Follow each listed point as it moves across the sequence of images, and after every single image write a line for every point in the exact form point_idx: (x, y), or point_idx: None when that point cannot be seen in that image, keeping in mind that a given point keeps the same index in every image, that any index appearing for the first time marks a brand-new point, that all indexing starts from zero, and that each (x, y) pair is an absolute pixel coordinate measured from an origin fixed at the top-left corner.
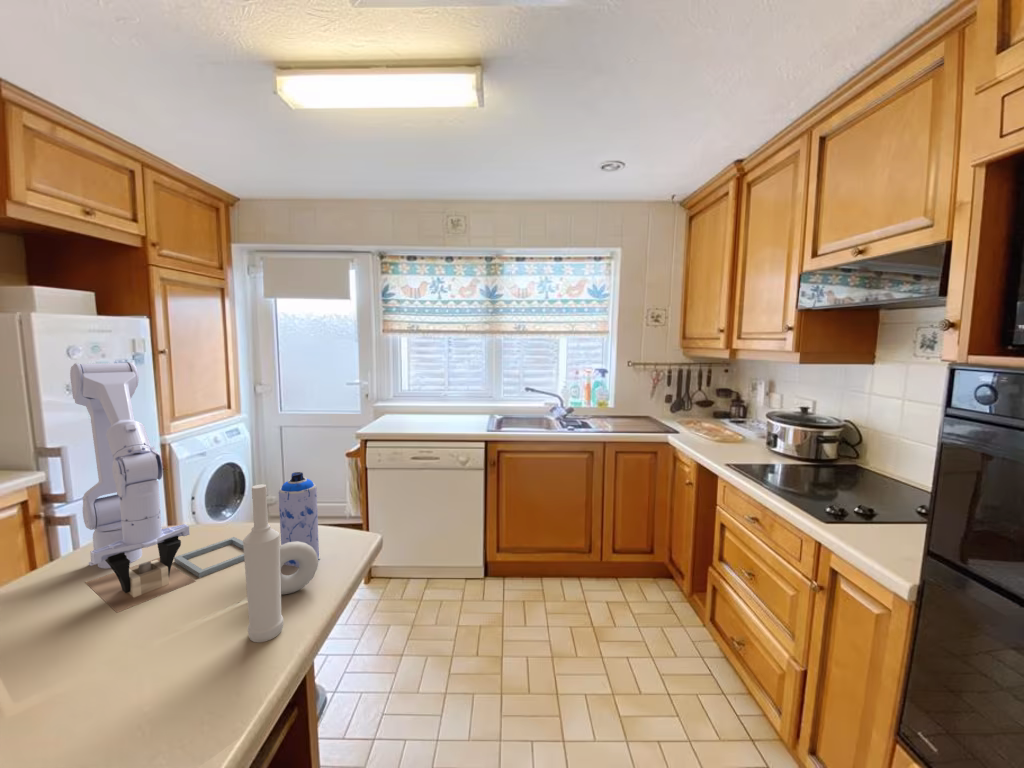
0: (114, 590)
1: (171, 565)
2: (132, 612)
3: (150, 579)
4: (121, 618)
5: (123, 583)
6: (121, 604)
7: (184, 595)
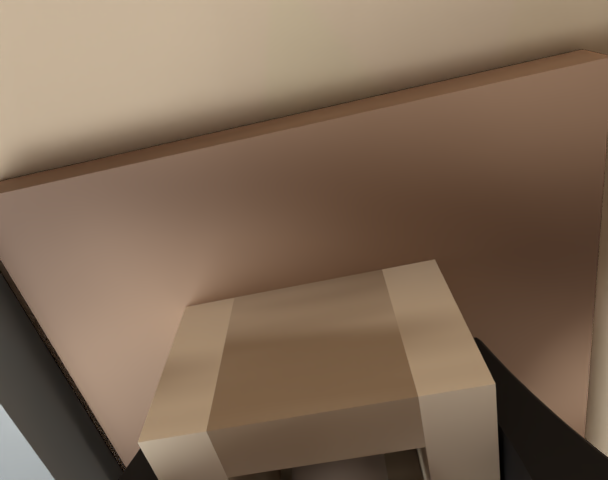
0: None
1: (120, 476)
2: (471, 66)
3: (315, 354)
4: (562, 12)
5: (539, 402)
6: (534, 201)
7: (75, 68)
